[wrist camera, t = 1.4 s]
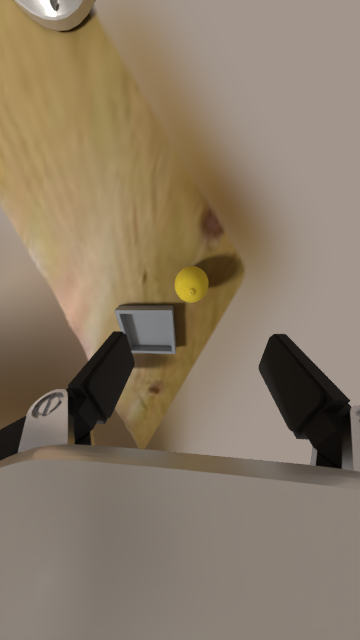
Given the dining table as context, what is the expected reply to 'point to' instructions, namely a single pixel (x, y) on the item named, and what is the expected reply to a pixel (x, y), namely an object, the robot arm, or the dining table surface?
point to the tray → (148, 327)
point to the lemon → (191, 284)
